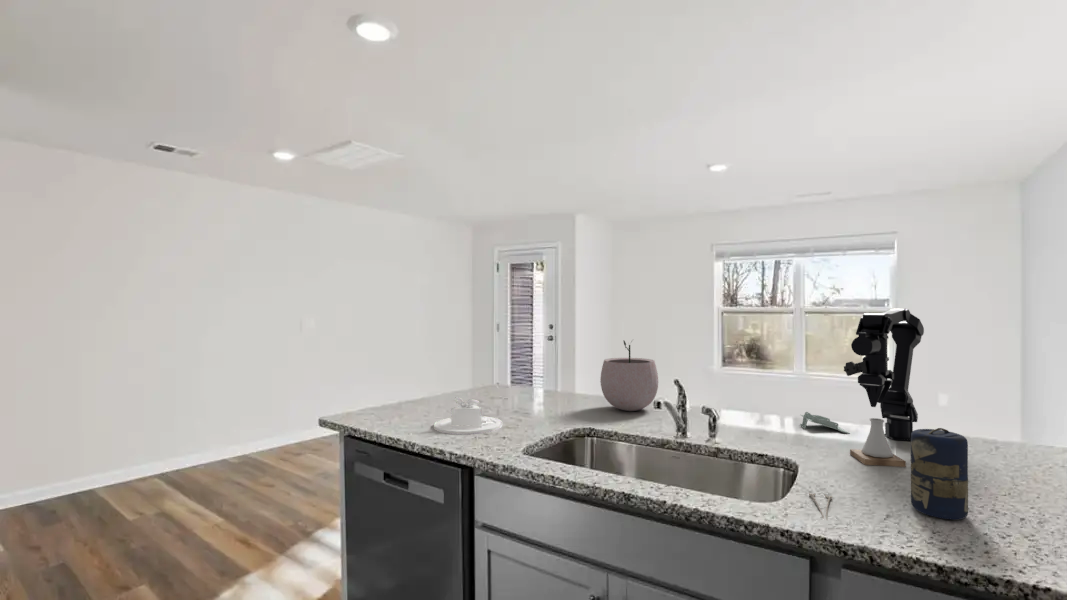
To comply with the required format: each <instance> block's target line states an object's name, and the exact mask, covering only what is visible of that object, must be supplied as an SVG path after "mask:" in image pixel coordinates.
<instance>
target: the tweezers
mask: <svg viewBox="0 0 1067 600" xmlns="http://www.w3.org/2000/svg"><path fill="white" fill-rule="evenodd" d="M808 496H809V497H810V498H811V500H813V502H814V503H815V505H816V506H817V508H818V510H819V511H820V514H821V517H822V518H823V519H826V520H828V510H829V504H830V502H831V500H832V499H833V496H832V495H827V494H825V495H824V496H825V498H827V503H826V504H827V505H826V509H825V510H826V511H825V512H826V513H825V517H824V513H823V511H822V509H821V507H820V504H819V503H818V501H817V500H816V497H815V496H816V493H812V492H811V493H810V492H809V493H808Z"/></svg>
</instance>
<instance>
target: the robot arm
mask: <svg viewBox="0 0 1067 600" xmlns="http://www.w3.org/2000/svg"><path fill="white" fill-rule="evenodd" d="M890 333H891V338H892V340H893V341H894V343H895V345H896V346H895V354H894V361H893V368H892V370H891V369H888V368H889V367H888V364H889V363H888V362H889V361H890V357H888V339H889V335H888V334H890ZM924 333H925V329H924V325H923V323H922V321H921V319H920V318H919V317H917V316H915V315H914V314H912V313H911V311H910V309H907V308H891V309H889V310H887V311H884V312H881V313H879V312H878V313H875V312H874V313H873V312H871V313H869V312H866V313H863V314H862V316H861V317H860V319H859V322H858V325H857V328H856V332H855V335H857V337H855V338H854V339H853V340H852V342H851V350H852V351H853V353H854V354H855V355H857V356H861V357H862V356H863V357H862V361H860V362H856V363H855V362H853V361H849V362H848V361H847V362H846V363H845V365H844V366H843V372H845V374H846V376H847V377H850V376H853V375H856V374H860V375H857V384H859V386H861V387H862V388H863V389H865V391H866V394H867V398H868V400H869V404H870V407H871V408H876V407H877V405H878V403H879V404H880V406H879V407H880V412H881V417H882V419H886V422H884V426H885V427H884V434H885V437H886V438H889V439H890V440H893V441H910V442H911V433H912V432H913V431H914V429H913V428H914V426H913V425H914V423H918V420H919V416H918V415H919V414H918V412H917V409H916V407H915V405H914V399H913V397H912V395H911V394H910V392H909V386H910V385H909V384H910V378H911V371H912V362H913V356H914V349H915V348H916V347H917V346H918V345H919V344H920V343H921V342H922V336H923V335H924Z"/></svg>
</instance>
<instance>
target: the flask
mask: <svg viewBox="0 0 1067 600" xmlns="http://www.w3.org/2000/svg"><path fill="white" fill-rule="evenodd" d="M869 421H870V429H869V433H868V436H867V437H866V441H865V442H864V445H863V446H862V448H861V450H862V451H861V452H863V453H864V454H866V455H870V456H873V457H883V458H888V457H894V456H893V454H894V453H893V451H892V450H891V447H890V445H889V442H888V439H887V436H885V429H884V426H883V425H884V424H883V423H885V420H884V419H883V418H882V419H881V418H875V417H874V418H873V417H872V418H869Z"/></svg>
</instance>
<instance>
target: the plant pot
mask: <svg viewBox="0 0 1067 600" xmlns="http://www.w3.org/2000/svg"><path fill="white" fill-rule="evenodd" d="M633 341H634V339H632V340H631V342H630V343H629V344H628V347H627V346H626V345H627V343H626V341H625V340H623V345H624V347H625V349H626V350H627V351H628V357H614V358H613V357H612V358H605V359H604V360H603V362H602V366H601V371H600V381H599V382H600V387H601V392H602V394H603V396H604V398H605V400H606V401H607V402H608V404H610V405H611V406H612V407H613V408H616V409H619V410H621V411H626V412H634V411H636V412H637V411H640V410H643V409H645V408H647V407H648V406H649V405H651V404H652V403H653V401H654V400H655V397H656V396H657V392H658V389H659V376H658V375H659V374H658V369H657V365H656V362H655V359H650V358H643V357H641V358H639V357H631V343H632V342H633Z"/></svg>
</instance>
